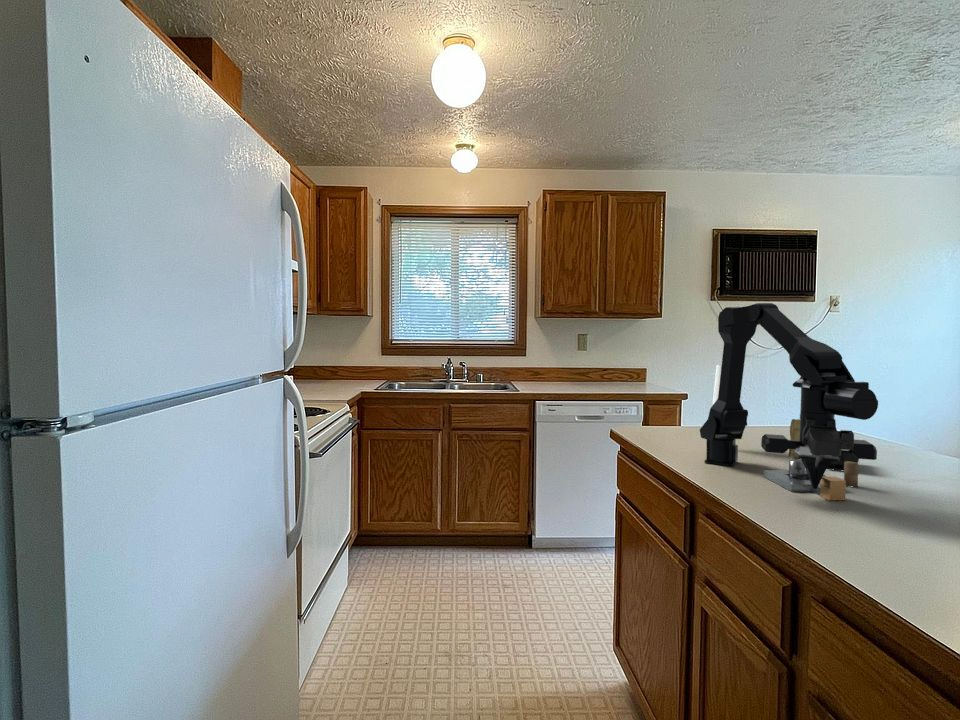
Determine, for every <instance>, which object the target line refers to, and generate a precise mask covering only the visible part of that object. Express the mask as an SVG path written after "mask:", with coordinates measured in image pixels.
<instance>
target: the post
mask: <svg viewBox="0 0 960 720" xmlns="http://www.w3.org/2000/svg"><path fill="white" fill-rule="evenodd" d="M788 470H789V476H790V477H792V478H794V479H796V480H805V470H806V468H805V466H804V464H803V462H802V460H801V459H798V458H794V459H791V458H790V459H789V460H788Z"/></svg>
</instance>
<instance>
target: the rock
mask: <svg viewBox="0 0 960 720" xmlns="http://www.w3.org/2000/svg"><path fill="white" fill-rule="evenodd" d="M799 434H800V418H799V419H795V418H792V419H791V422H790V426H789V437H790V440H799ZM805 446H806V445H805ZM807 446H808V445H807ZM793 450H794V449H788V458H790V457H791V458H794V459H799V458H798V457H797V456H796V455H795V454H794V453H793ZM814 456H815V455H814ZM791 458H790V459H791Z"/></svg>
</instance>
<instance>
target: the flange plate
mask: <svg viewBox="0 0 960 720" xmlns="http://www.w3.org/2000/svg"><path fill="white" fill-rule="evenodd" d="M763 477H764V478H765V479H767V480H769V481H771V482H773V483H775V484H776V485H778V486H780V487H782V488H784V489H785V490H786V489H787V490H788V491H790V492H792V493H793V492H795V493H796V492H813V493H815V494H816V495H819V496H820V497H822V498H824V499H825V500H828V501H830V500H845V501H846V487H847V486H846V481H845V480H844V478H840V477H838V476H827V475H825V474H824V475H823V477H822V479H821V481H820V483H819V485H818V487H817V489H813V488H812V485H811V482H810V479H809V477H808V474H807V471H806V469H805V480H796V479H794V478H792V477H790V476H789V469H788V470H786V469H783V470H781V469H780V470H779V469H778V470H774V469H773V470H772V469H771V470H769V469H768V470H767V469H766V470H765V469H764V470H763ZM830 502H831V501H830Z"/></svg>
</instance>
